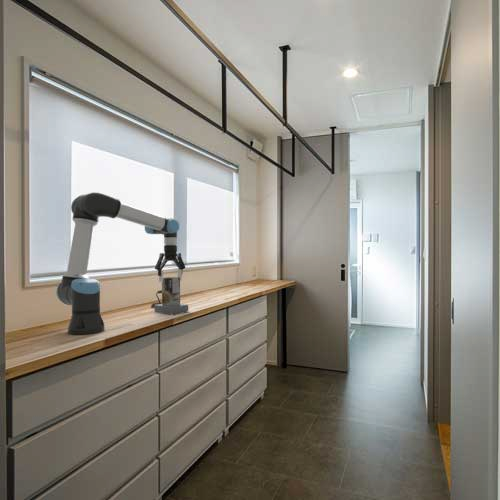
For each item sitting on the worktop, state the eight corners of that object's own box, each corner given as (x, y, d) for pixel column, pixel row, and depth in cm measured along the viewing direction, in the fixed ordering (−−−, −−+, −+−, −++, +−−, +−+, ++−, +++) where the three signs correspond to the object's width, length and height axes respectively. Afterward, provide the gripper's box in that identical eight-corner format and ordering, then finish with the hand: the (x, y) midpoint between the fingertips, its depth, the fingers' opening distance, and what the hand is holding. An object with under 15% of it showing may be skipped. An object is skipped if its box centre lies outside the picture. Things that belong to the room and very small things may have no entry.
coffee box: (180, 304, 216) (180, 277, 216) (172, 306, 210) (172, 278, 210) (169, 303, 221) (169, 276, 221) (161, 305, 215) (161, 277, 215)
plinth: (171, 314, 206) (171, 307, 206) (154, 311, 216) (154, 305, 216) (188, 311, 215) (188, 304, 215) (171, 309, 225) (171, 302, 225)
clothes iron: (162, 308, 229) (162, 291, 229) (150, 307, 233) (150, 290, 233) (176, 305, 241) (176, 288, 241) (165, 304, 245) (165, 288, 245)
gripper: (183, 245, 228) (183, 279, 227) (148, 244, 209) (148, 282, 208) (191, 245, 223) (191, 280, 223) (156, 244, 204) (156, 282, 203)
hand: (170, 281), depth 215 cm, fingers open, 13 cm apart
